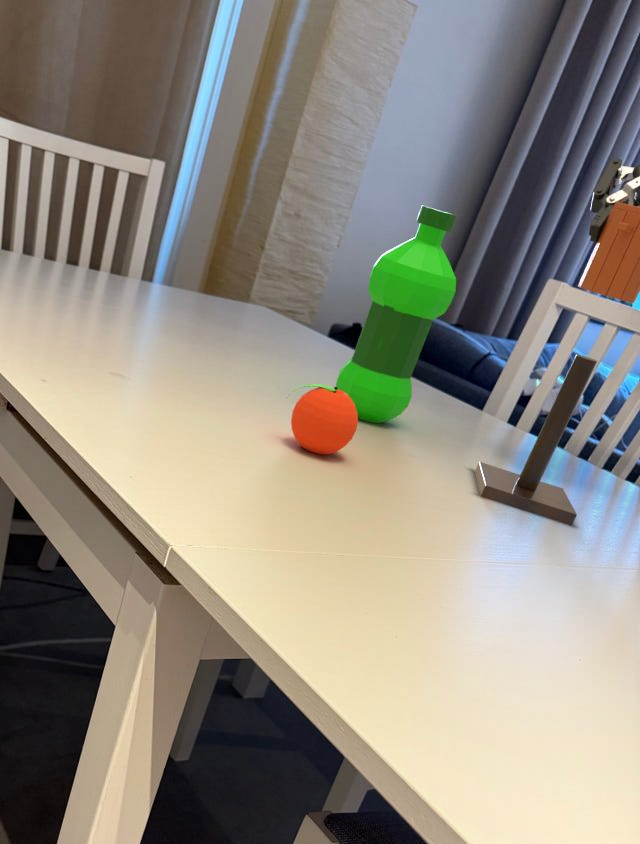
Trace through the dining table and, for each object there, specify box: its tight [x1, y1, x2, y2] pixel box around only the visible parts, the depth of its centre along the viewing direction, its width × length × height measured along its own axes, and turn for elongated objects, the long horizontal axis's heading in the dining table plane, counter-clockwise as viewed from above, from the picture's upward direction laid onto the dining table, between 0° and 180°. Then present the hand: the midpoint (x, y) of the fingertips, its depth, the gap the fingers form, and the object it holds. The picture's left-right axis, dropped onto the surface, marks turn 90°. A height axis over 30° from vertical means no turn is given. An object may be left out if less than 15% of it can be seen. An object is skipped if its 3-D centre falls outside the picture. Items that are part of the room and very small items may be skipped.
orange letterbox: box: [577, 202, 640, 304], centre depth 102 cm, size 9×6×9 cm
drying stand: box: [474, 354, 598, 526], centre depth 100 cm, size 10×10×16 cm
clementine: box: [286, 383, 359, 455], centre depth 97 cm, size 8×7×7 cm
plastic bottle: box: [335, 205, 457, 424], centre depth 113 cm, size 10×10×25 cm
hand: (624, 244), depth 101 cm, fingers closed on orange letterbox, 6 cm apart
